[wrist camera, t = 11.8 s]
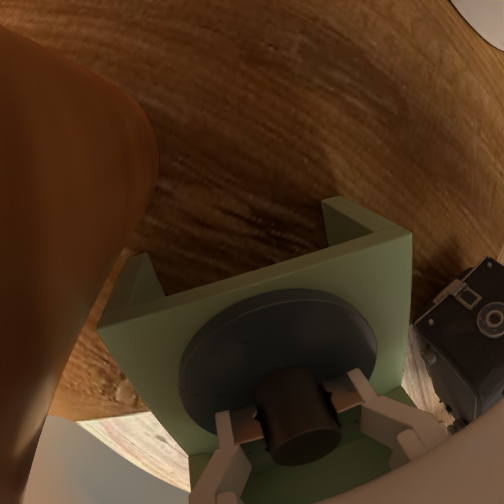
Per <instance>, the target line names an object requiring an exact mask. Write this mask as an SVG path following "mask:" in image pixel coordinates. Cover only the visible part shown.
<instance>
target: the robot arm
mask: <svg viewBox="0 0 504 504" xmlns="http://www.w3.org/2000/svg"><path fill="white" fill-rule="evenodd" d="M450 1H451V2H452V3H453V5H454V6H455V7H456V8H457V10H458V11H459V12H460V13H461V15H462V16H463V17H464V18H465V19H466V21H467V22H468V23H469V24H470V25H471V26H472V27H473V28H474V29H475V30H476V31H477V32H478V33H479V34H480V35H481V36H482V37H483V38H484V39H485V40H486V41H488V42H489V43H490V44H492V45H493V46H494V47H496V48H498V49H500V50H503V51H504V0H450ZM320 388H321V390H322V392H323V396H324V398H325V400H326V402H327V404H328V406H329V408H330V410H331V412H332V414H333V416H334V418H335V420H336V422H337V424H338V426H339V428H340V430H341V432H342V436H345V435H348V434H350V433H353V432H355V431H358V430H360V431H361V432H362V433H364V434H366V435H368V436H369V437H371V438H373V439H375V440H376V441H378V442H380V443H382V444H384V445H386V446H387V447H389V448H391V449H393V452H392V455H391V458H390V461H389V464H388V465H389V467H390V469H391V472H389V473H387V474H385V475H383V476H381V477H378V478H376V479H374V480H372V481H370V482H367V483H365V484H363V485H360V486H358V487H356V488H353V489H351V490H348V491H346V492H343V493H340V494H338V495H335V496H332V497H329V498H327V499H324V500H321V501H318V502H315V503H311V504H504V397H502V398H501V399H500V400H499V401H498V402H497V403H495V404H494V405H493V406H492V407H490V408H489V409H488V410H487V411H485V412H484V413H483V414H482V415H480V416H479V417H478V418H476V419H475V420H474V421H472V422H471V423H470V424H468V425H467V426H466V427H464V428H463V429H461V430H460V431H459V432H457V433H456V434H454V435H453V436H451V437H449V436H448V434H447V433H446V432H445V430H444V429H443V428H442V426H441V425H440V423H439V422H438V421H437V419H436V418H435V417H434V415H433V414H431V413H428V412H425V411H422V410H420V409H417V408H414V407H411V406H409V405H406V404H403V403H401V402H398V401H396V400H393V399H390V398H388V397H385V396H383V395H380V396H378V395H377V394H376V392H375V391H374V389H373V388H372V386H371V385H370V383H369V382H368V380H367V379H366V378H365V376H364V375H363V373H362V372H361V370H360V369H359V368H355V369H353V370H351V371H348V372H346V373H342V374H340V375H338V376H335V377H333V378H330V379H327V380H325V381H322V382H320ZM215 419H216V427H217V434H218V442H219V449H216V450H215V452H214V453H213V455H212V457H211V459H210V460H209V462H208V464H207V466H206V467H205V469H204V471H203V473H202V474H201V476H200V478H199V480H198V481H197V483H196V485H195V486H194V488H193V490H192V491H191V493H190V495H189V504H245V503H244V502H243V501H242V500H241V499H240V497H241V494H242V492H243V489H244V487H245V484H246V482H247V479H248V477H249V474H250V472H251V469H252V465H256V464H259V463H263V462H266V461H270V460H272V458H271V455H270V451H269V448H268V444H267V441H266V437H265V433H264V430H263V426H262V422H261V418H260V415H259V411H258V408H257V405H256V404H252V405H248V406H243V407H239V408H235V409H230V410H226V411H222V412H217V413H216V415H215Z"/></svg>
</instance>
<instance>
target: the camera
mask: <svg viewBox="0 0 504 504" xmlns="http://www.w3.org/2000/svg"><path fill="white" fill-rule="evenodd" d="M412 323H413V326H414V329H415V331H416V333H417V339H418V342H419V345H420V348H421V351H420V354H421V356H422V358H423V360H424V361H425V365H426V368H427V371H428V374H429V376H430V377H431V379H432V383H433V387H434V391H435V393H436V395H437V396H438V397H439V399H440V401H439V402H440V403H441V402H442V403H443V404H444V405H445V407H446V408H445V407H444V408H445V410H446V412H447V413H448V414H449V415H450V413H451V414H452V416H453V417H454V418H455V421H454V422H453V424H452V425H449V426H448V427H447V428H445V429H446V431H447V433H448V435H449V437H451V436H453V435H454V434H456V433H457V432H459V431H460V430H461V429H463V428H464V427H466V426H467V425H468V424H470V423H471V422H472V421H474V420H475V419H476V418H478V417H479V416H480V415H482V414H483V413H484V412H485V411H487V410H488V409H489V408H490V407H492V406H493V405H494V404H495V403H497V402H498V401H499V400H500V399H501V398H502V397H504V266H503V265H501V264H500V263H498V262H497V261H495V260H494V259H492V258H488V255H486V256H485V257H484V258H483V259H482V260H481V261H480V262H479V263H478V264H477V265H476V266H475V267H470V268H468V269H466V270H465V271H463V272H462V273H461V274H459V275H458V276H457V277H455V278H454V279H453V280H451V281H450V282H449V283H448V284H446V285H445V286H444V287H443V288H442V289H441V290H440V291H439V292H438V293H437V294H436V295H435V296H434V297H433V298H432V299H431V300H430V301H429V302H428V303H427V304H426V305H425V306H424V308H423V309H422V310H421V311H420V312H419V313H418V315H417V316H416V317H415V318H414V319H413V322H412Z"/></svg>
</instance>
